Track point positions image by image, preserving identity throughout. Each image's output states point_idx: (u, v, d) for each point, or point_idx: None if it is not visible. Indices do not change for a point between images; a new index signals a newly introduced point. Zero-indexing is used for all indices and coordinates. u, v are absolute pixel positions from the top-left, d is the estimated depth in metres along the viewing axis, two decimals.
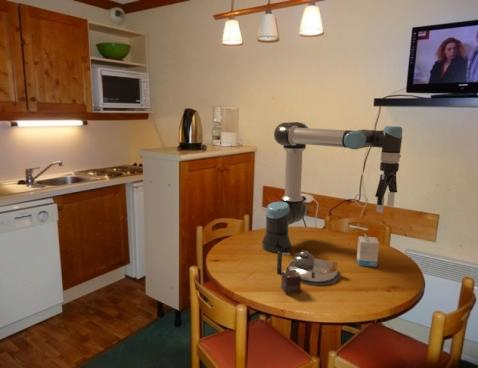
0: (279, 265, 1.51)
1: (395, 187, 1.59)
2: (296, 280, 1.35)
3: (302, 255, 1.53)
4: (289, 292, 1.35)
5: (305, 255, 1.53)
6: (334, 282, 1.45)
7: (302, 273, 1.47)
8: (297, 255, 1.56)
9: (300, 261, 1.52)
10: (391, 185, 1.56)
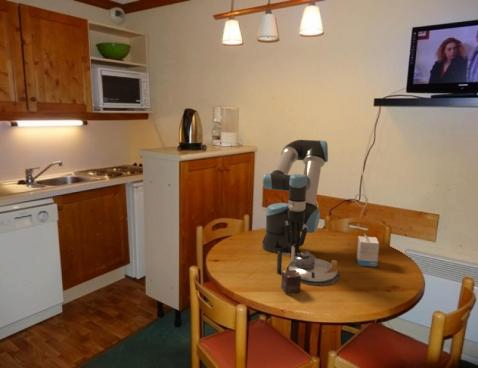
0: (279, 265, 1.51)
1: (299, 242, 1.54)
2: (296, 280, 1.35)
3: (303, 255, 1.53)
4: (289, 292, 1.35)
5: (306, 255, 1.53)
6: (334, 282, 1.45)
7: (302, 273, 1.47)
8: (298, 255, 1.56)
9: (301, 261, 1.51)
10: None
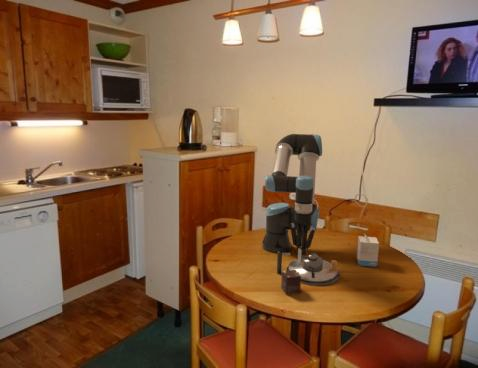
0: (279, 265, 1.51)
1: (306, 244, 1.53)
2: (296, 280, 1.35)
3: (310, 258, 1.51)
4: (289, 292, 1.35)
5: (313, 258, 1.50)
6: (334, 282, 1.45)
7: (302, 273, 1.47)
8: (305, 257, 1.54)
9: (308, 264, 1.49)
10: None
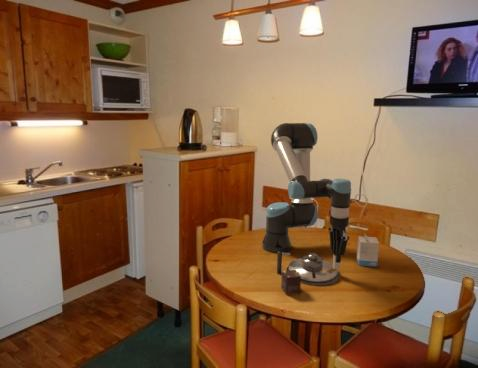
0: (279, 265, 1.51)
1: None
2: (296, 280, 1.35)
3: (310, 258, 1.51)
4: (289, 292, 1.35)
5: (314, 258, 1.50)
6: (334, 282, 1.45)
7: (303, 274, 1.47)
8: (305, 257, 1.54)
9: (308, 264, 1.49)
10: None
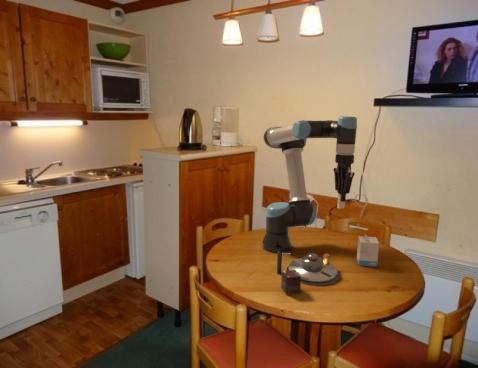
0: (279, 265, 1.51)
1: None
2: (296, 280, 1.35)
3: (314, 258, 1.50)
4: (289, 292, 1.35)
5: (316, 257, 1.51)
6: (334, 282, 1.45)
7: (318, 276, 1.45)
8: (306, 260, 1.51)
9: (316, 265, 1.48)
10: None
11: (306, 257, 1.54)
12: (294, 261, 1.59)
